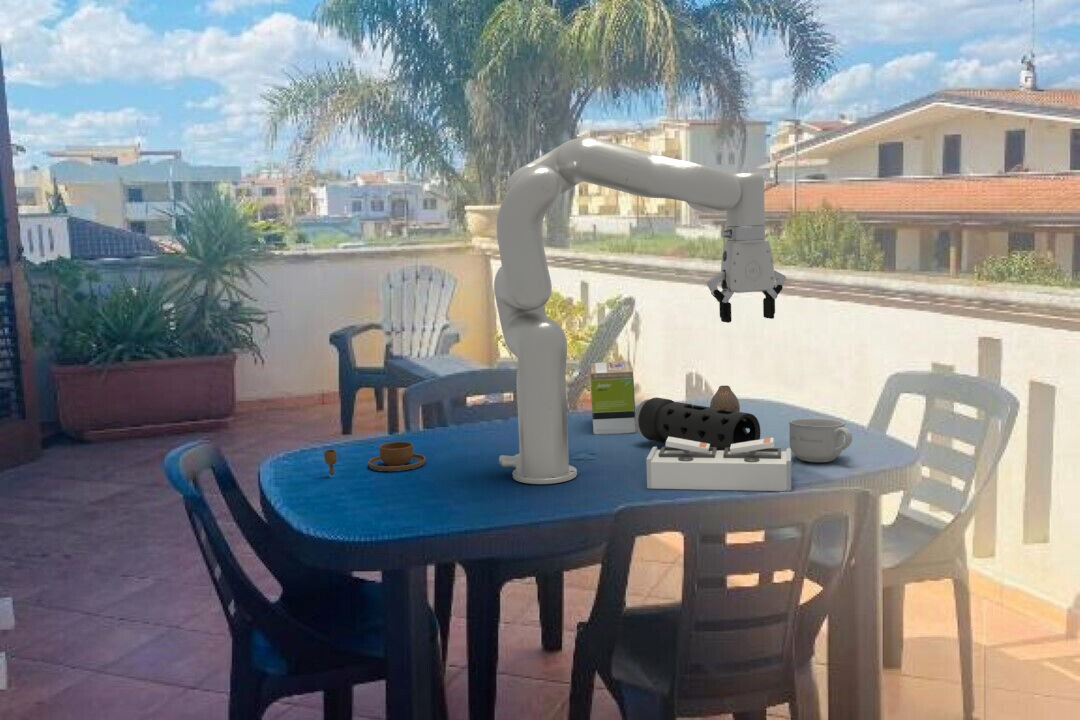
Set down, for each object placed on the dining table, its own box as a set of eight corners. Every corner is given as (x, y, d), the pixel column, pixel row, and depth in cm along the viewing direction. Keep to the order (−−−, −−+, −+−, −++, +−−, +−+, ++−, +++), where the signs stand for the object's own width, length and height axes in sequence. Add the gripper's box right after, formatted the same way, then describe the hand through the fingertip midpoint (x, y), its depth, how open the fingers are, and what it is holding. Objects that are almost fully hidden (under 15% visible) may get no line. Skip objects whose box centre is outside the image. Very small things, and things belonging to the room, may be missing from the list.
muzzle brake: (731, 467, 214) (730, 416, 212) (632, 446, 235) (630, 399, 234) (762, 458, 220) (761, 408, 218) (662, 438, 241) (661, 393, 240)
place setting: (423, 476, 217) (422, 448, 216) (323, 482, 216) (321, 453, 216) (427, 456, 235) (426, 430, 234) (335, 461, 234) (333, 435, 233)
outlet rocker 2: (731, 457, 200) (729, 448, 200) (732, 452, 204) (730, 443, 204) (775, 450, 199) (773, 441, 198) (775, 446, 202) (773, 436, 202)
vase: (740, 419, 257) (740, 383, 256) (739, 426, 250) (738, 388, 249) (711, 419, 259) (710, 383, 257) (709, 425, 252) (708, 388, 251)
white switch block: (647, 488, 200) (646, 459, 199) (653, 474, 209) (652, 446, 209) (791, 491, 194) (790, 460, 193) (791, 477, 204) (790, 448, 203)
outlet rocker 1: (664, 449, 203) (666, 440, 203) (667, 444, 207) (668, 435, 207) (707, 457, 202) (708, 448, 201) (708, 452, 205) (710, 443, 205)
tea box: (591, 421, 262) (589, 361, 260) (633, 420, 262) (631, 360, 260) (592, 435, 247) (590, 371, 245) (636, 433, 247) (634, 370, 245)
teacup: (778, 457, 219) (778, 418, 218) (823, 451, 223) (822, 413, 222) (820, 472, 206) (820, 431, 205) (866, 465, 210) (866, 424, 209)
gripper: (715, 237, 210) (717, 325, 212) (793, 232, 215) (795, 318, 217) (698, 237, 217) (700, 321, 219) (774, 232, 222) (775, 315, 224)
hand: (747, 320), depth 218 cm, fingers open, 9 cm apart
